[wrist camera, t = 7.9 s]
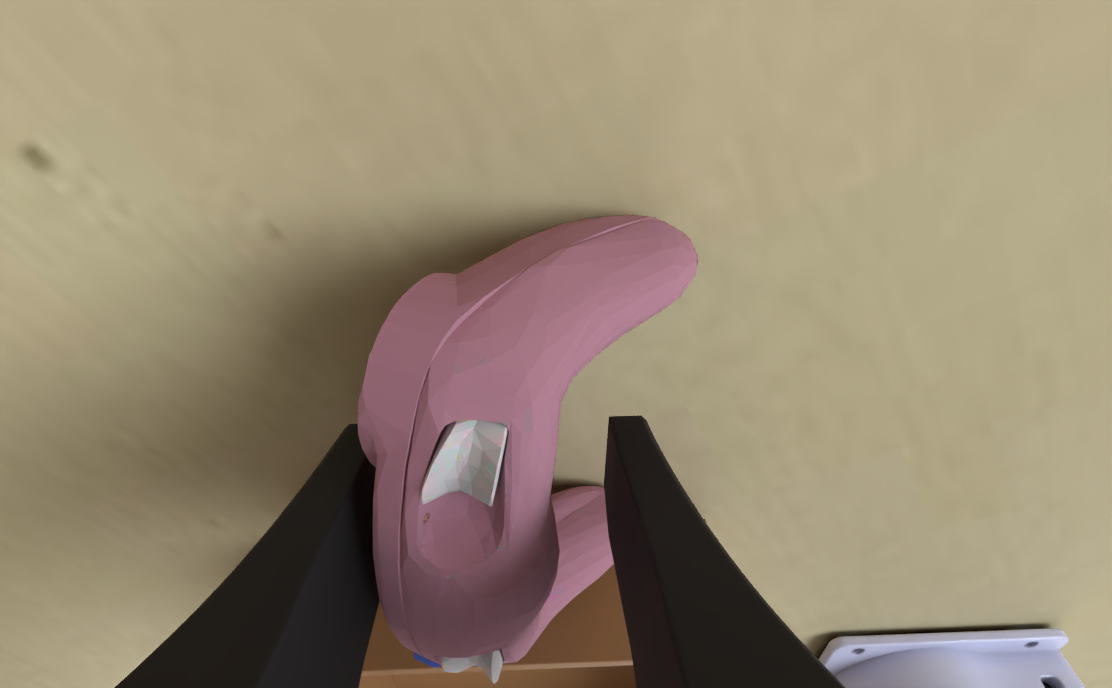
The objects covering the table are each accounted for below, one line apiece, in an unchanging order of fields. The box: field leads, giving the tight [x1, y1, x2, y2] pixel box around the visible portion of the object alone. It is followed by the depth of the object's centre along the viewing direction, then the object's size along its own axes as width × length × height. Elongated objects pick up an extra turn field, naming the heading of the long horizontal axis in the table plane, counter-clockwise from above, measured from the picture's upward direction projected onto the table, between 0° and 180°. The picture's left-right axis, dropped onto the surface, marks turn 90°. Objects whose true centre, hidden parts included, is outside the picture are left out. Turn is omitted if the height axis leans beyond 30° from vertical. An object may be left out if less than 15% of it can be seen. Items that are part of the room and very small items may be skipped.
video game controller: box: [358, 215, 698, 684], centre depth 12 cm, size 10×5×7 cm, turn 176°
